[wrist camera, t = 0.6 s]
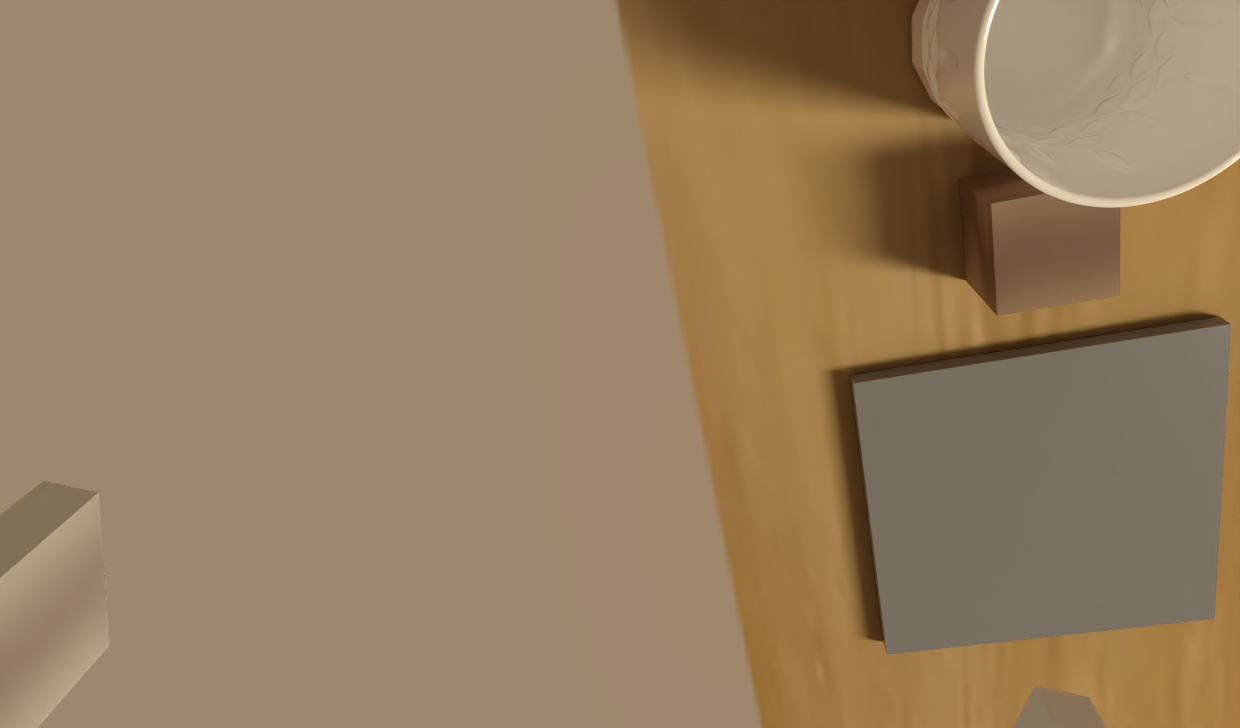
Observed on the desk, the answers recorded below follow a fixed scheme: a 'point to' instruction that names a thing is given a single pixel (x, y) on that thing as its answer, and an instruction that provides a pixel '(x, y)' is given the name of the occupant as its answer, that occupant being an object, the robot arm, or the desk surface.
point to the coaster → (1046, 486)
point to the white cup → (1089, 90)
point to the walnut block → (1035, 245)
